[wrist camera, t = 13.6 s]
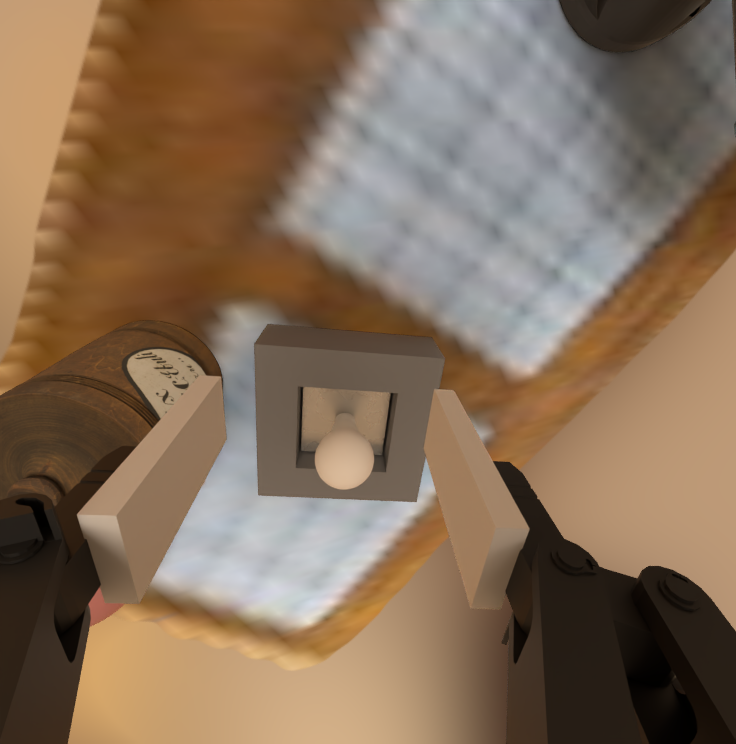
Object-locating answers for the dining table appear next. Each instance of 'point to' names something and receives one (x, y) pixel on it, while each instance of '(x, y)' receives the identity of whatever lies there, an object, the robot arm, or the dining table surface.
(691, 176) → the dining table surface
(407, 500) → the socket block
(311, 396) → the tan square tile
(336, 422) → the lightbulb
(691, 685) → the robot arm
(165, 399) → the wooden container
